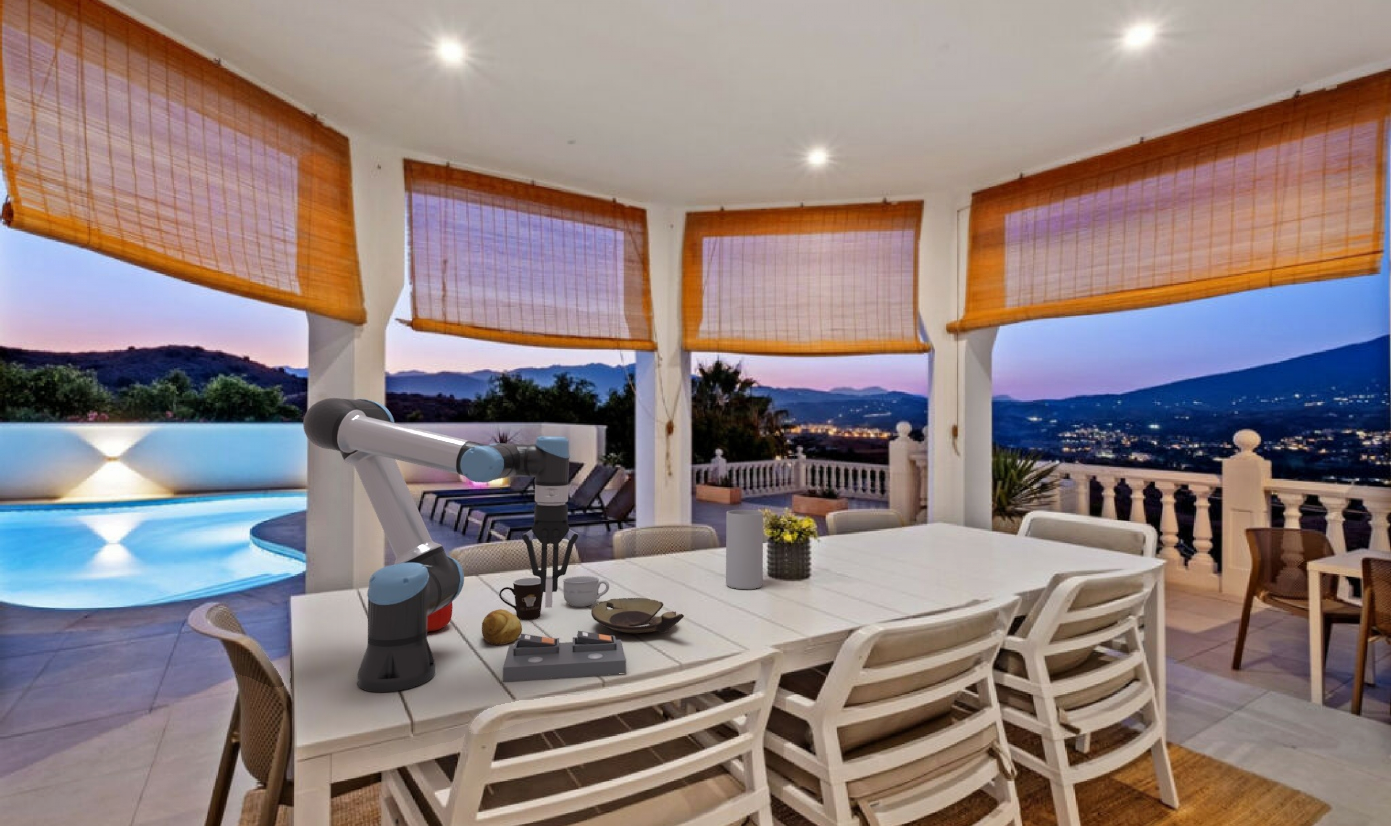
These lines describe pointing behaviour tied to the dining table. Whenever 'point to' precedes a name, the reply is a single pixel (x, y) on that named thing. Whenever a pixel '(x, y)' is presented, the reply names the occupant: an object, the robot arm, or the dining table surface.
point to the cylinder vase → (744, 549)
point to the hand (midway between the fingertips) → (548, 605)
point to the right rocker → (593, 638)
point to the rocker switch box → (563, 660)
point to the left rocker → (536, 641)
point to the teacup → (583, 590)
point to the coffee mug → (526, 598)
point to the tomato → (439, 618)
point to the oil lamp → (634, 615)
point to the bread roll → (501, 627)
